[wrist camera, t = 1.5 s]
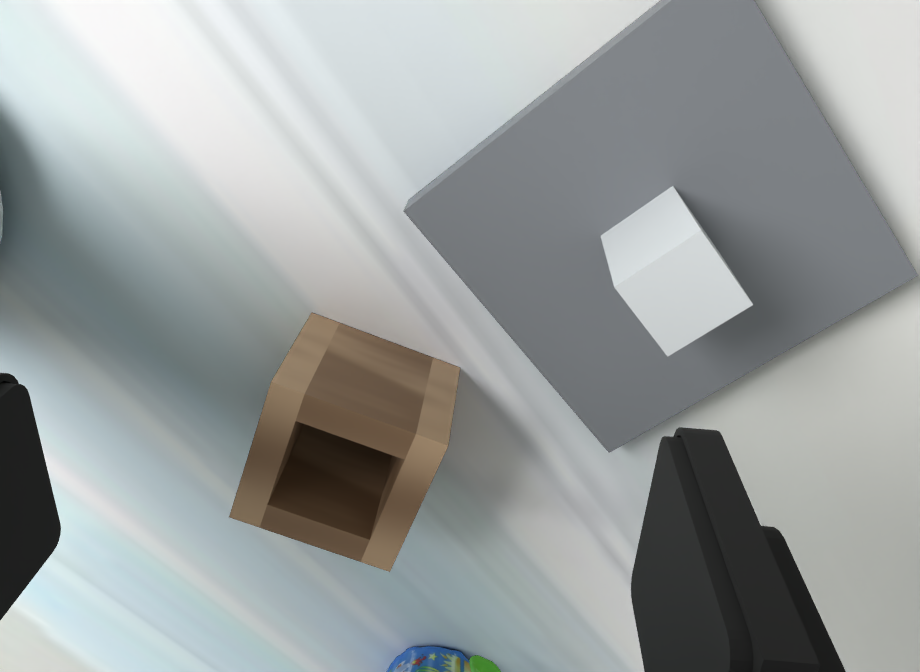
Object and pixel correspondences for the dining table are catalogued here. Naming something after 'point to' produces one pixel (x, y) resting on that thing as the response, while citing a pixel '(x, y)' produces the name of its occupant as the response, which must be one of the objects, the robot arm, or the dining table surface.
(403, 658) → the snack cup
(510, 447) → the dining table surface
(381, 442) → the brown wooden square box
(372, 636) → the dining table surface
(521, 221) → the board
